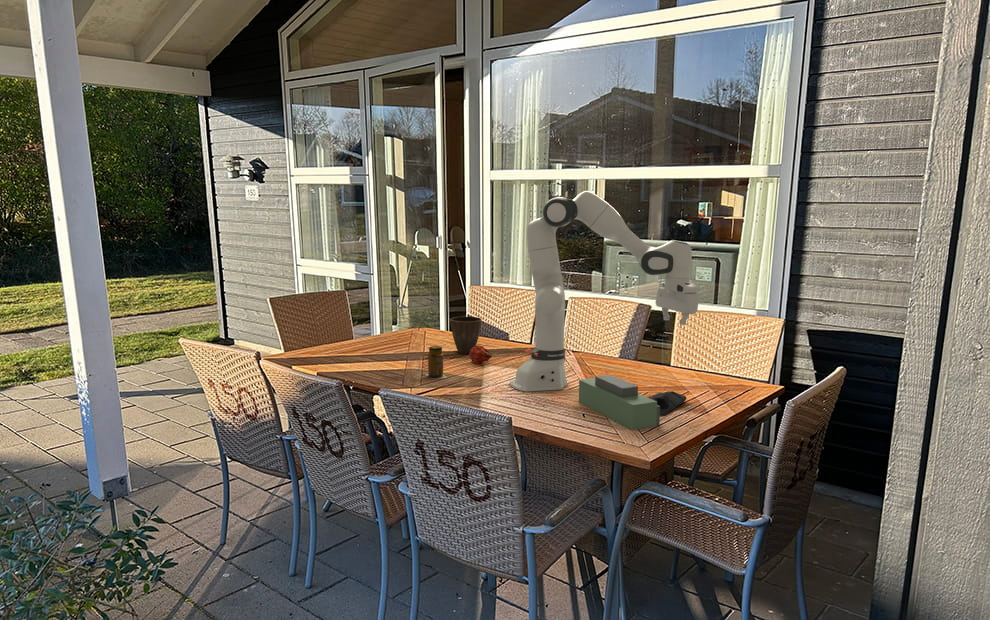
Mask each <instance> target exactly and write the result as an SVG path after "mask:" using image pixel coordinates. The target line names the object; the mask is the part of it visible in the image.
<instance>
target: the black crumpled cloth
mask: <svg viewBox="0 0 990 620" xmlns="http://www.w3.org/2000/svg"><path fill="white" fill-rule="evenodd" d="M647 397H648V398H650V399H652V400H655V401H657V405H659V406H660V417H661V416H662V417H664V416H666V414H669V413H670V412H672V411H674V410H676V408H678V407H679V406H680V405H682V404H683V403H684V402H686V400H687V396H686V395H684V394H683V395H682V394H681V393H678V392H675V391H674V390H673V391H664V392H659V393H656V394H654V395H652V396H647Z"/></svg>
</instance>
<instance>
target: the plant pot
mask: <svg viewBox="0 0 990 620" xmlns="http://www.w3.org/2000/svg"><path fill="white" fill-rule="evenodd" d="M482 320H483V319H482V318H481V317H478V316H476V317H475V316H455V317H451V318H449V321H450V322H449V323H450V328H451V335H452V337H453V342H454V345H455V348H456V351H457V352H459V354H462V353H464V355H465V354H466V355H468V354H467V353H469V352H470V350H471V348H473V347H474V346H476V345H478V344H477V343H478V340H479V337H480V333H481V328H482V327H481V326H482V322H483V321H482Z"/></svg>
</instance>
